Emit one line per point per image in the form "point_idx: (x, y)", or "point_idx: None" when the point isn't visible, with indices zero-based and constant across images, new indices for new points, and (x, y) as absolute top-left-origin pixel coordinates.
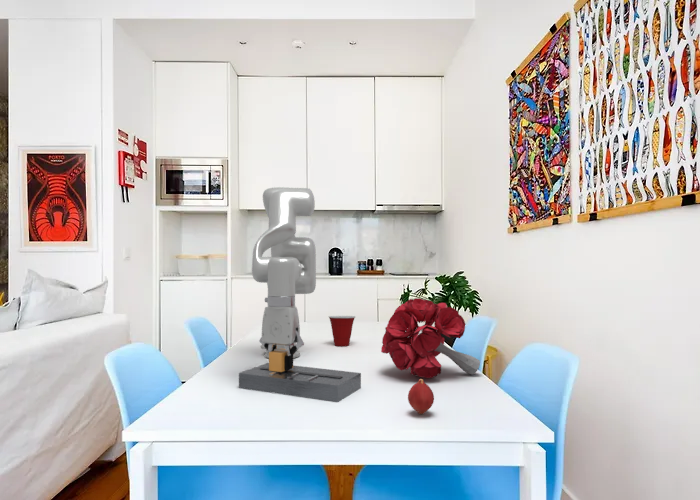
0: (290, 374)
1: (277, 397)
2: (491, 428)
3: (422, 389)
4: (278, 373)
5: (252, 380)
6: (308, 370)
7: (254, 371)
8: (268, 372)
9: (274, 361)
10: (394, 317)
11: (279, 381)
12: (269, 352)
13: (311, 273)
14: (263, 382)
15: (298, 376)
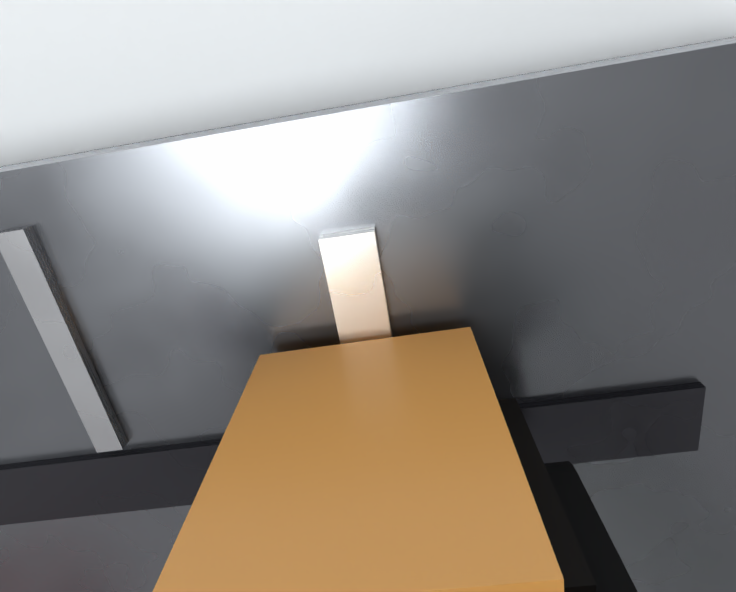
0: (154, 380)
1: (86, 10)
2: None
3: None
4: (315, 339)
5: (570, 68)
6: (153, 583)
7: (698, 241)
8: (469, 308)
9: (374, 431)
10: None
11: (120, 149)
12: (546, 574)
13: None
14: (382, 101)
15: (1, 361)
